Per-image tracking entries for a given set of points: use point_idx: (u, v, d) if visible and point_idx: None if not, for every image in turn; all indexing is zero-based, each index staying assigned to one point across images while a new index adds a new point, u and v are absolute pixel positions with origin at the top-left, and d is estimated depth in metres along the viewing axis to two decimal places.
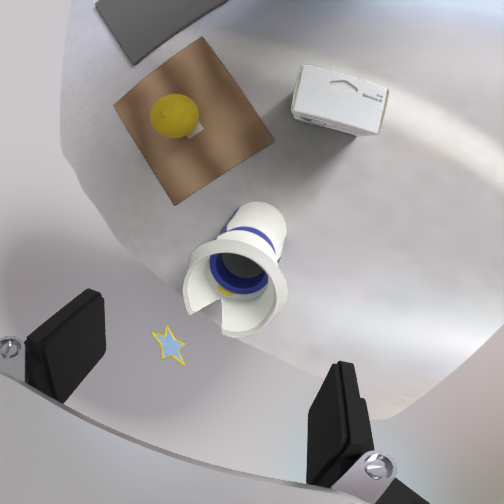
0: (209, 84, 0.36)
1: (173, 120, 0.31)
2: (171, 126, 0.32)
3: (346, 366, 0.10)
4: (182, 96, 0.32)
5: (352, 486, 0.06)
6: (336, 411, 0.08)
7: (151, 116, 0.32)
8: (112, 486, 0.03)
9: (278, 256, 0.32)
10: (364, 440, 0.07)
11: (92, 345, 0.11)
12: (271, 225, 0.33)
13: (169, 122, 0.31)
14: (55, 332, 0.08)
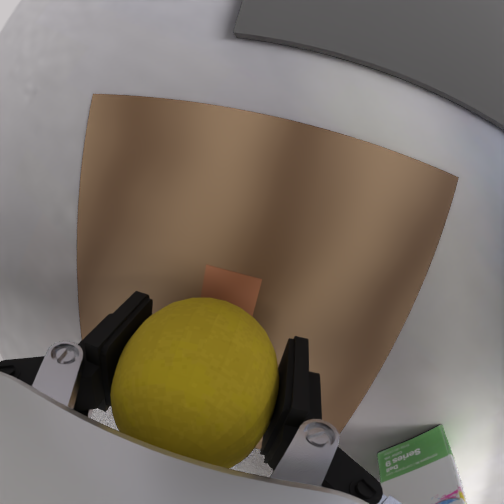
0: (346, 310, 0.13)
1: None
2: None
3: (300, 340, 0.11)
4: (267, 406, 0.08)
5: (288, 449, 0.07)
6: (285, 380, 0.09)
7: (120, 405, 0.07)
8: (112, 486, 0.03)
9: None
10: (306, 407, 0.08)
11: None
12: None
13: None
14: (113, 335, 0.09)
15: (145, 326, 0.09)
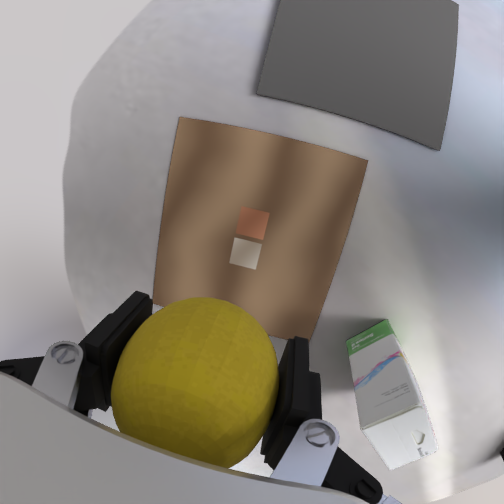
0: (313, 229, 0.26)
1: None
2: None
3: (300, 340, 0.11)
4: (267, 405, 0.08)
5: (288, 449, 0.07)
6: (285, 380, 0.09)
7: (121, 405, 0.07)
8: (112, 486, 0.03)
9: None
10: (306, 407, 0.08)
11: None
12: None
13: None
14: (113, 335, 0.09)
15: (145, 326, 0.09)
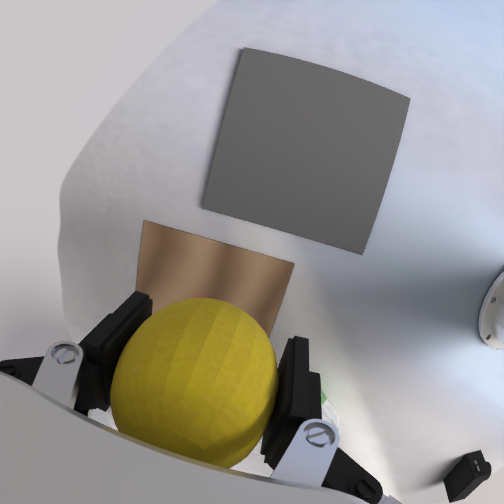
0: (248, 313, 0.33)
1: None
2: None
3: (300, 340, 0.11)
4: (266, 406, 0.08)
5: (288, 449, 0.07)
6: (285, 380, 0.09)
7: (120, 406, 0.07)
8: (112, 486, 0.03)
9: None
10: (306, 407, 0.08)
11: None
12: None
13: None
14: (113, 335, 0.09)
15: (145, 327, 0.09)
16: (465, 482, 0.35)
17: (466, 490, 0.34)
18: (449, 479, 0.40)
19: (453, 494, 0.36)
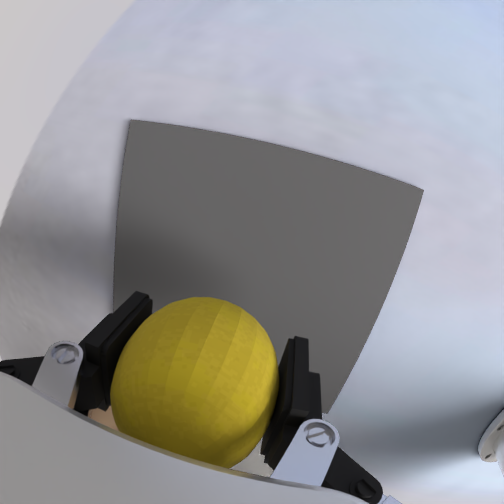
0: None
1: None
2: None
3: (300, 340, 0.11)
4: (267, 405, 0.08)
5: (288, 449, 0.07)
6: (285, 380, 0.09)
7: (120, 405, 0.07)
8: (112, 486, 0.03)
9: None
10: (306, 407, 0.08)
11: None
12: None
13: None
14: (113, 335, 0.09)
15: (145, 326, 0.09)
16: None
17: None
18: None
19: None
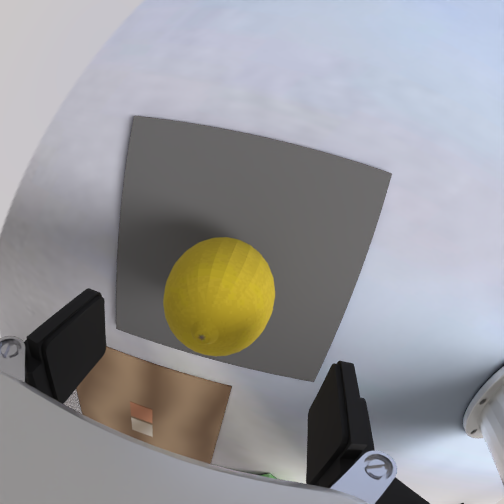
0: (189, 424, 0.26)
1: (211, 353, 0.13)
2: None
3: (346, 366, 0.10)
4: (269, 299, 0.14)
5: (352, 486, 0.06)
6: (336, 411, 0.08)
7: (176, 295, 0.13)
8: (112, 486, 0.03)
9: None
10: (364, 440, 0.07)
11: (92, 345, 0.11)
12: None
13: (200, 350, 0.13)
14: (55, 332, 0.08)
15: (189, 251, 0.15)
16: None
17: None
18: None
19: None
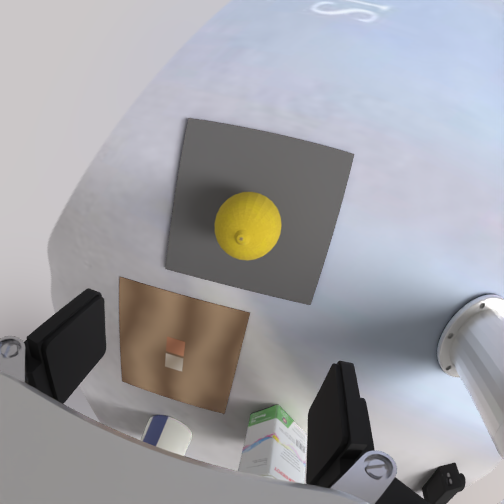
0: (214, 353, 0.37)
1: (244, 253, 0.24)
2: (236, 254, 0.24)
3: (346, 366, 0.10)
4: (278, 224, 0.25)
5: (352, 486, 0.06)
6: (336, 411, 0.08)
7: (226, 218, 0.23)
8: (112, 486, 0.03)
9: None
10: (364, 440, 0.07)
11: (92, 345, 0.11)
12: None
13: (238, 251, 0.24)
14: (55, 332, 0.08)
15: (231, 197, 0.25)
16: (439, 494, 0.38)
17: (441, 500, 0.37)
18: (426, 489, 0.44)
19: None
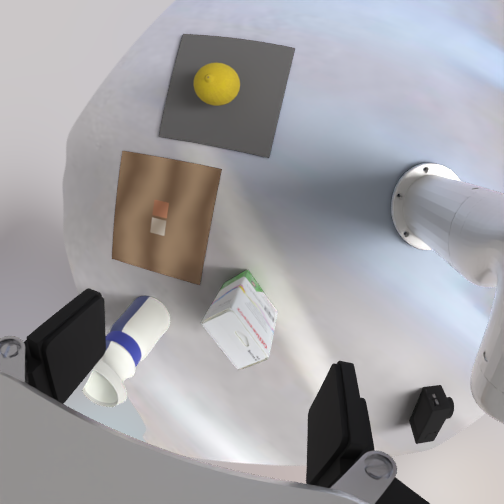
0: (192, 211, 0.44)
1: (210, 90, 0.31)
2: (205, 92, 0.32)
3: (346, 366, 0.10)
4: (235, 77, 0.32)
5: (352, 486, 0.06)
6: (336, 411, 0.08)
7: (200, 70, 0.31)
8: (112, 486, 0.03)
9: None
10: (364, 440, 0.07)
11: (92, 345, 0.11)
12: (150, 341, 0.44)
13: (206, 88, 0.31)
14: (55, 332, 0.08)
15: None
16: (426, 418, 0.45)
17: (429, 427, 0.44)
18: (413, 419, 0.51)
19: (418, 433, 0.47)
